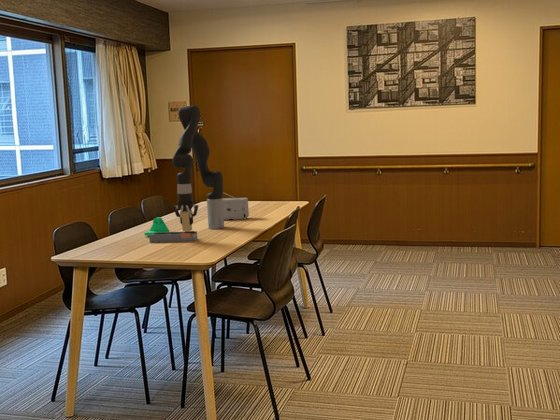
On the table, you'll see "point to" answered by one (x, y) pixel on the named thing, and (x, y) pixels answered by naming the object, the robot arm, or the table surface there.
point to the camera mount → (157, 226)
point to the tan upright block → (186, 221)
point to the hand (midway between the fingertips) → (186, 224)
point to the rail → (173, 236)
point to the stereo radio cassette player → (235, 208)
